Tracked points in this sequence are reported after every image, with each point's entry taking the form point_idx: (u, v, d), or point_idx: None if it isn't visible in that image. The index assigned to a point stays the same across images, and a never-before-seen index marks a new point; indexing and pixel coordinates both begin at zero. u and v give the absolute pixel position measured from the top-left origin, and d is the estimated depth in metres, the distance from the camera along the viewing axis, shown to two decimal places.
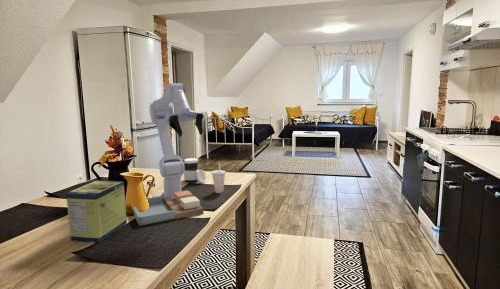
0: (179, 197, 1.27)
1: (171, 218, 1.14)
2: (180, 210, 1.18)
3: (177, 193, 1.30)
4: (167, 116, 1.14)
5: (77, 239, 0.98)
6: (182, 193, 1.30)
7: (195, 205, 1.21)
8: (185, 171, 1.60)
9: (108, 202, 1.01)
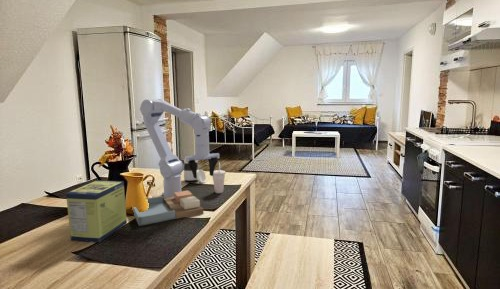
0: (179, 197, 1.27)
1: (171, 218, 1.14)
2: (180, 210, 1.18)
3: (177, 193, 1.30)
4: (187, 159, 1.28)
5: (77, 239, 0.98)
6: (182, 193, 1.30)
7: (195, 205, 1.21)
8: (185, 171, 1.60)
9: (108, 202, 1.01)
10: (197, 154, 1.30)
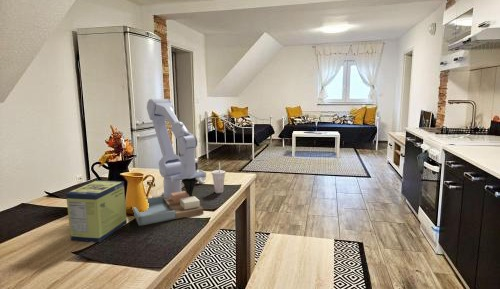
0: (176, 198, 1.26)
1: (171, 218, 1.14)
2: (180, 210, 1.18)
3: (174, 194, 1.30)
4: (173, 179, 1.27)
5: (77, 239, 0.98)
6: (178, 194, 1.29)
7: (195, 205, 1.21)
8: None
9: (108, 202, 1.01)
10: (183, 174, 1.28)
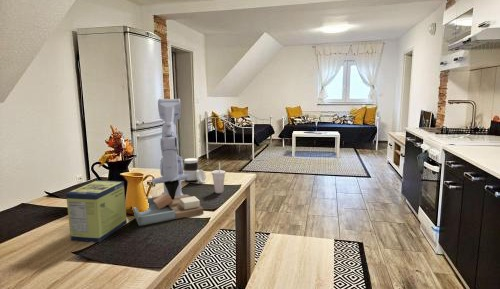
0: (158, 204, 1.23)
1: (171, 218, 1.14)
2: (180, 210, 1.18)
3: (156, 200, 1.26)
4: (154, 182, 1.23)
5: (77, 239, 0.98)
6: (160, 199, 1.26)
7: (195, 205, 1.21)
8: (185, 171, 1.60)
9: (108, 202, 1.01)
10: (165, 176, 1.25)
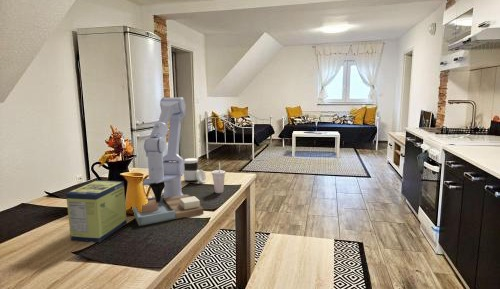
0: (143, 207, 1.20)
1: (171, 218, 1.14)
2: (180, 210, 1.18)
3: None
4: None
5: (77, 239, 0.98)
6: (147, 203, 1.23)
7: (195, 205, 1.21)
8: (185, 171, 1.60)
9: (108, 202, 1.01)
10: (150, 178, 1.22)
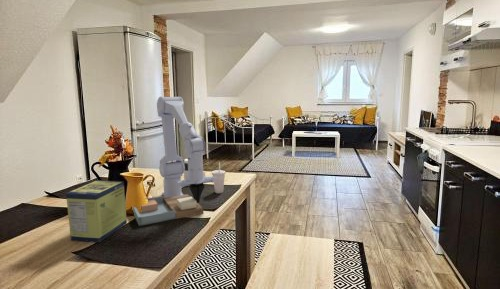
0: (143, 207, 1.20)
1: (171, 218, 1.14)
2: (180, 210, 1.18)
3: None
4: (179, 184, 1.19)
5: (77, 239, 0.98)
6: None
7: (192, 206, 1.20)
8: (185, 171, 1.60)
9: (108, 202, 1.01)
10: (190, 179, 1.20)
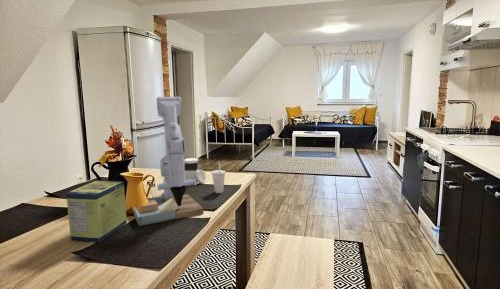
0: (143, 207, 1.20)
1: (171, 218, 1.14)
2: (180, 210, 1.18)
3: None
4: (160, 187, 1.15)
5: (77, 239, 0.98)
6: None
7: (174, 209, 1.17)
8: (185, 171, 1.60)
9: (108, 202, 1.01)
10: (171, 181, 1.17)
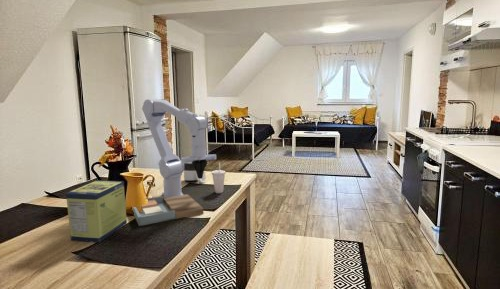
0: (143, 207, 1.20)
1: (171, 218, 1.14)
2: (180, 210, 1.18)
3: None
4: (183, 160, 1.26)
5: (77, 239, 0.98)
6: None
7: None
8: (185, 171, 1.60)
9: (108, 202, 1.01)
10: (193, 155, 1.28)
